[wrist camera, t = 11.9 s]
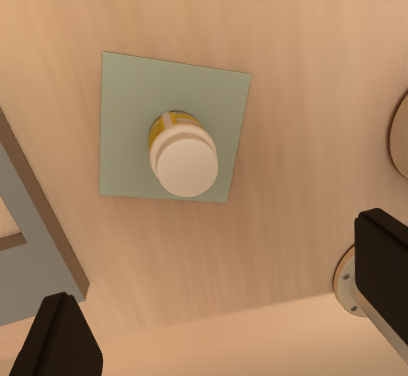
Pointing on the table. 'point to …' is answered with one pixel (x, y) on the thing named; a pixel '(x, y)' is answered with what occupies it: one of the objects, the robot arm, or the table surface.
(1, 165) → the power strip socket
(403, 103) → the cylinder vase
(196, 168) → the supplement bottle
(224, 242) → the table surface
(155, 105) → the rubber mat
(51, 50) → the table surface
